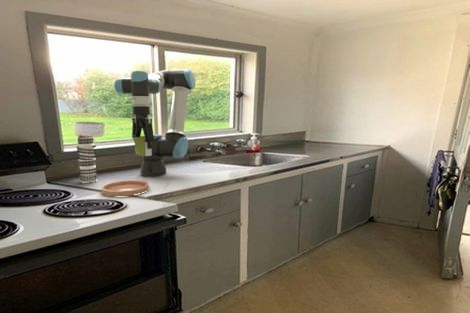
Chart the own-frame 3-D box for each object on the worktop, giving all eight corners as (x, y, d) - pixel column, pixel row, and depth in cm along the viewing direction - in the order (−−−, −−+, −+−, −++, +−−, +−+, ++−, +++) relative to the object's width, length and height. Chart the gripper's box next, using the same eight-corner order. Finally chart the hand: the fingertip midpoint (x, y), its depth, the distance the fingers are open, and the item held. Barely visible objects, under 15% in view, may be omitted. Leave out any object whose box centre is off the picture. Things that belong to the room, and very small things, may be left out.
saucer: (94, 190, 144) (94, 185, 144) (136, 183, 158) (136, 178, 158) (112, 200, 129) (112, 194, 129) (156, 190, 144) (156, 185, 143)
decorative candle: (90, 178, 168) (87, 133, 164) (102, 180, 164) (98, 134, 160) (75, 182, 160) (71, 135, 156) (87, 184, 156) (83, 135, 152)
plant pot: (134, 157, 136) (133, 138, 135) (132, 154, 145) (131, 136, 143) (155, 155, 140) (154, 137, 139) (151, 153, 149) (151, 135, 147)
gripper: (122, 105, 143) (125, 153, 147) (145, 105, 129) (148, 158, 133) (137, 105, 149) (139, 151, 152) (160, 105, 134) (163, 156, 138)
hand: (143, 154), depth 142 cm, fingers closed on plant pot, 8 cm apart
